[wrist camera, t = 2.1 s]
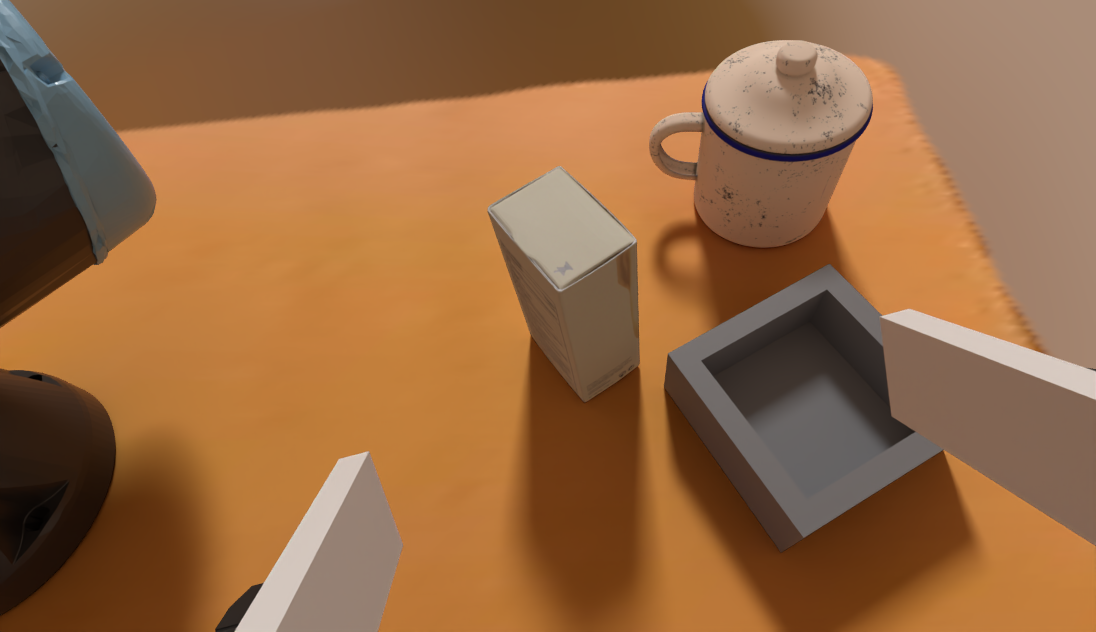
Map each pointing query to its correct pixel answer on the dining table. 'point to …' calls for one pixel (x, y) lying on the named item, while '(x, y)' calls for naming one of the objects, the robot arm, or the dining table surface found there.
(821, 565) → the dining table surface
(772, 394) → the tray
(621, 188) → the dining table surface
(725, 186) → the teacup with lid
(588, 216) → the skincare box
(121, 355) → the dining table surface
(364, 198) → the dining table surface
